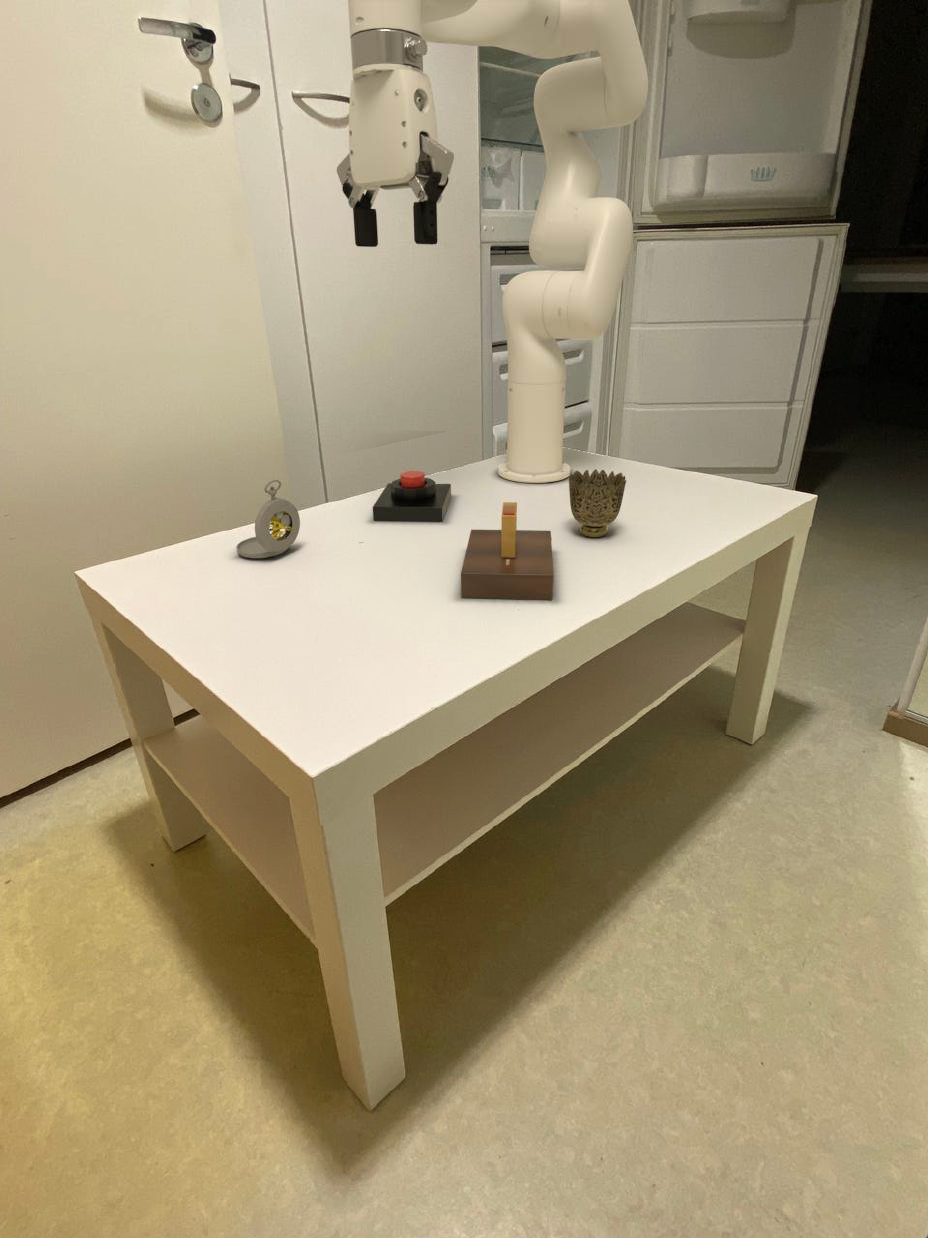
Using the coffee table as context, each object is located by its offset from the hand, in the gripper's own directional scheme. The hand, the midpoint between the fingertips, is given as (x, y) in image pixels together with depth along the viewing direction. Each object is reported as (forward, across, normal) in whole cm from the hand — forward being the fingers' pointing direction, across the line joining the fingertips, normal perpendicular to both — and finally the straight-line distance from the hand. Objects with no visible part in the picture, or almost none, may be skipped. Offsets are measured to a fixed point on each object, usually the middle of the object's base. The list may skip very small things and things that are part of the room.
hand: (395, 245), depth 82 cm
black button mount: (+35, +6, -8) cm, 36 cm away
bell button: (+31, +6, -7) cm, 33 cm away
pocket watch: (+35, +8, +17) cm, 40 cm away
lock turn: (+32, -20, +4) cm, 38 cm away
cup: (+35, -21, -14) cm, 43 cm away
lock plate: (+35, -20, +4) cm, 41 cm away
